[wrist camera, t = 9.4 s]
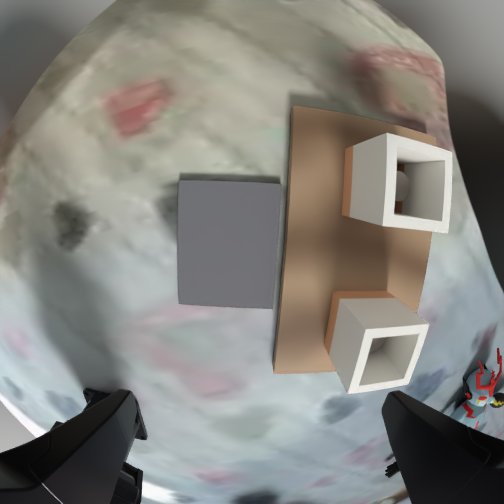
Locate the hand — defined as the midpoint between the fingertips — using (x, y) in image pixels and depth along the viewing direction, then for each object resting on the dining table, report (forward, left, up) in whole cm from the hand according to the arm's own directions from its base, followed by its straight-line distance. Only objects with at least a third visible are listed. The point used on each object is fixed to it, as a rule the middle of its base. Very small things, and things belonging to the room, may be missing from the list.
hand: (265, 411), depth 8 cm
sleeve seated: (-2, -8, -11) cm, 14 cm away
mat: (+3, +2, -12) cm, 13 cm away
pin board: (+3, -8, -12) cm, 15 cm away
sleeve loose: (+8, -8, -11) cm, 16 cm away
